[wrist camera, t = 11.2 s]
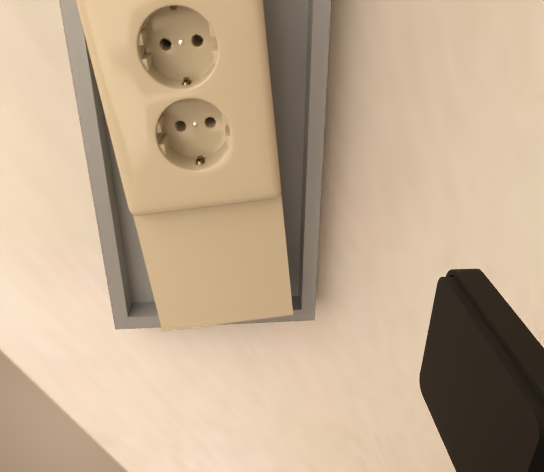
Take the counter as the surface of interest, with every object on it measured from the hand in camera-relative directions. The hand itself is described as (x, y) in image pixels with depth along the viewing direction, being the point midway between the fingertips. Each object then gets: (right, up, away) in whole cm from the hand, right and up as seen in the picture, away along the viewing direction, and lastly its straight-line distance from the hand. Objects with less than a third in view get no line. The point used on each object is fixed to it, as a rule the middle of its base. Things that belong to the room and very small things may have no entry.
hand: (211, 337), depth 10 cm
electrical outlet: (-2, +7, +17) cm, 18 cm away
